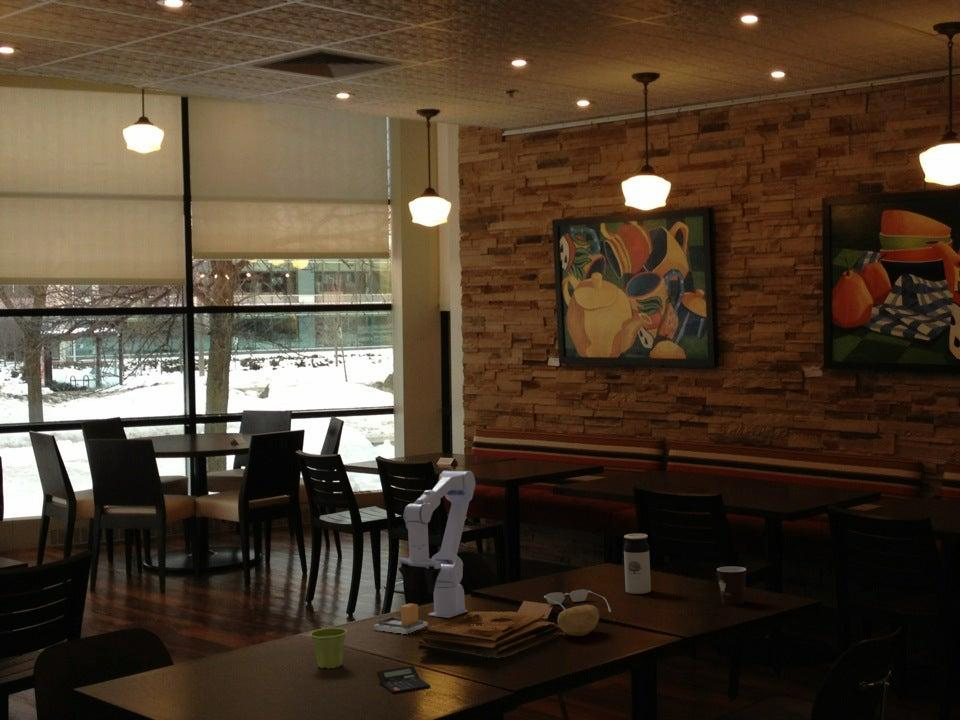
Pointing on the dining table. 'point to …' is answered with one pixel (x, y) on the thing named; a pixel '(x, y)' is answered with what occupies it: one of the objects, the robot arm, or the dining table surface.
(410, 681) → the calculator
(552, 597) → the eyeglasses
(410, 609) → the tan upright block
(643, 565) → the travel mug
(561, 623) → the potato
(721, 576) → the coffee mug
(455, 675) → the dining table surface
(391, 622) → the console plate
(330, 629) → the plant pot
